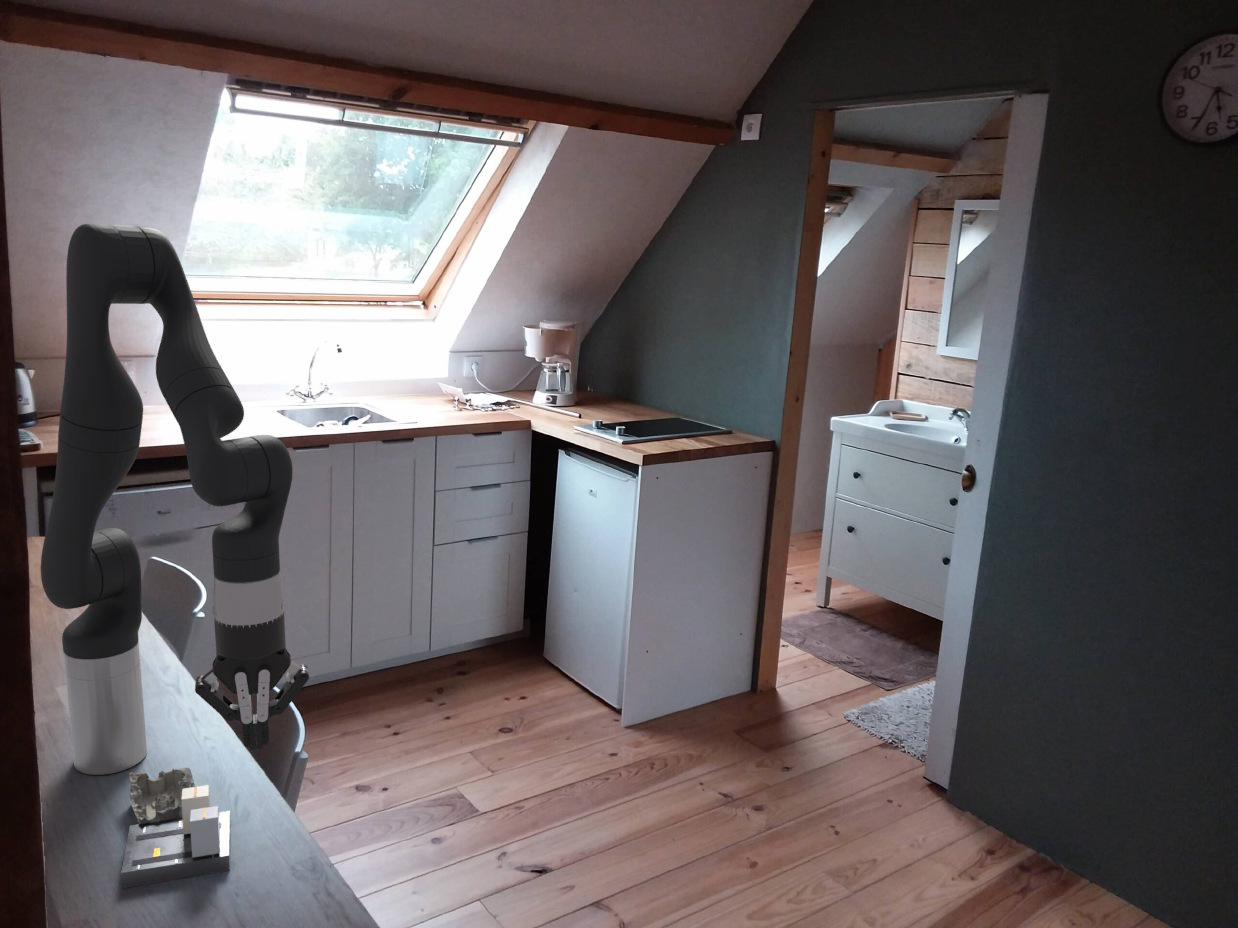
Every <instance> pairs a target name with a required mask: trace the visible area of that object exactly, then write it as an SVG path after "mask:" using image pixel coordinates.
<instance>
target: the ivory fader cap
mask: <svg viewBox="0 0 1238 928" xmlns="http://www.w3.org/2000/svg"><path fill="white" fill-rule="evenodd" d="M210 797H211V796H210V784H206V785H201V786H200V785H198V786H195V787H191V788H184V789H182V799H181V800H182V816H183V831H184V834H190V833H191V830H190V815H191V810H194V809H201V808H207V807H211V799H210Z"/></svg>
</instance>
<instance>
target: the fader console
mask: <svg viewBox="0 0 1238 928" xmlns="http://www.w3.org/2000/svg"><path fill="white" fill-rule="evenodd" d="M231 825H232V822H231V810H224V811H219V829H220V853H217V854H211V855H205V856H199V857H193V858H192V846H191V833H190V834H184V831H183V818H177V819H170V820H164V821H157V822H150V823H144V824H139V823H138V824H137V823H136V824H131V825H129V829H128V834H127V840H126V845H125V850H124V856H123V861H122V862H123V863H122V867H121V872H120V876H121V887H122V888H123V889H126V888H131V887H139V886H143V885H149V884H150V885H151V884H156V883H163V882H166V881H173V880H174V881H175V880H179V879H185V878H191V877H197V876H202V875H208V874H214V873H221V872H225V871H227V872H228V871H230V868H231V833H232V832H231V828H232V827H231Z"/></svg>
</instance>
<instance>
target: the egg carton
mask: <svg viewBox="0 0 1238 928" xmlns="http://www.w3.org/2000/svg"><path fill="white" fill-rule="evenodd" d="M128 776H129V784H130V785H129V786H130V788H129V799H130V802H131V805H130V806H131V808H132V810H133V812H134V816H135V817H136V820H137V822H138V824H144V823H150V822H157V821H164V820H170V819H177V818H183V816H182V800H181V799H182V789H184V788H191V787H196V785H195V782H194V777H193V773H192V771H191V768H189V767H182V768H179V769H176V768H172V770H170V771H167V772H165V771H163V770H162V771H159V773H158V775H157V776H156V777H152V778H150V777H149V775H148V773H147V772H140V773H137V774H135V773H134V772H133V771H129V775H128Z"/></svg>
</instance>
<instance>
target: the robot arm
mask: <svg viewBox="0 0 1238 928" xmlns="http://www.w3.org/2000/svg"><path fill="white" fill-rule="evenodd" d="M169 239H170V238H168V237H167V236H166V235H165V234H164V233H163V232H162V231H160V230H159V229H156V228H151V227H146V226H139V225H124V224H112V223H111V224H110V223H109V224H107V223H83V224H80V225H79V226H78V227H77V228H75V229H74V231H73V232H72V235H71V237H70V240H69V244H68V248H67V255H66V269H65V270H66V272H65V273H66V277H65V278H66V280H65V281H66V289H65V290H66V349H65V351H66V354H65V362H64V363H65V365H64V366H65V367H64V377H63V378H64V379H63V386H62V395H61V402H60V408H59V409H60V410H59V423H58V432H57V434H58V435H57V455H56V456H57V457H56V469H55V477H54V484H53V485H54V487H53V495H52V503H51V506H50V511H49V516H48V519H47V520H48V521H47V524H46V530H45V531H46V532H45V534H44V535H45V536H44V540H43V544H42V545H43V546H42V549H41V550H42V551H41V556H40V578H41V583H42V584H41V585H42V587H43V588H42V589H43V590H44V594H45V596H46V597H47V598H48V600H49V602H51V604H53V606H55V607H57V608H59V609H63V610H72V609H77V608H81V607H82V608H83V607H85V606H87V607H86V609H84V611H83V612H82V613H81V614H80V615H78V617H76V618H75V619H74V620H72V621H71V622H70V623H69V624H68V625H67V626H65V628H64V630H63V631H62V635H61V637H62V638H61V641H62V651H63V652H62V653H63V662H64V663H63V665H64V672H65V681H66V682H65V683H66V693H67V704H68V716H69V725H70V735H71V747H72V757H73V765H74V766H73V767H74V768H75V769H76V771H78V772H80V773H83V774H86V775H90V776H93V775H94V776H95V775H96V776H99V775H100V776H101V775H110V774H115V773H119V772H123V771H125V770H127V769H130V768H132V767H134V766H136V765H138V764H139V763H140V762H142V761H143V760H144V759H145V757H146V756H147V754H148V753H147V751H148V746H147V736H146V735H147V734H146V718H145V707H144V695H143V692H144V691H143V683H142V679H143V678H142V669H141V667H142V665H141V659H140V658H141V656H140V645H139V644H140V643H139V641H140V640H139V632H140V631H139V630H140V629H141V628H140V627H141V625H142V620H143V618H142V617H143V611H142V606H143V603H142V569H141V568H142V566H141V559H140V555H139V551H138V548H137V546H136V543H135V542H134V540H133V539H132V538H131V536H130V535H129V533H127V532H126V531H124V530H122V529H120V528H116V527H107V528H102V529H99V530H95V529H96V525H97V523H98V521H99V518H100V515H101V514H102V511H103V509H104V507H105V506H106V504H107V503H108V501H109V500H110V499H111V497H112V496H113V495H114V493H115V491H116V490H117V488H118V487H120V484H122V482H123V480H124V479H125V478H126V476H127V475H128V473H129V471H130V470H131V468H132V467H133V464H134V463H135V461H136V458H137V456H138V453H139V449H140V445H141V444H140V443H141V436H142V426H143V417H144V416H143V415H144V402H143V400H142V397H141V395H140V392H139V390H138V388H137V386H136V385H135V383H134V381H133V379H132V378H131V377H130V375H129V373H128V372H127V369H125V366H124V365H123V364H122V362H121V361H120V359H119V357H118V355H117V353H116V351H115V349H114V347H113V344H112V341H111V336H110V327H109V320H110V319H109V315H110V308H111V305H113V304H115V305H116V304H120V305H121V304H122V305H125V304H126V305H127V304H129V305H132V304H133V305H135V304H137V305H145V304H150V305H151V306H152V308H153V309H154V310H155V311H156V312H157V313H158V314H157V315H158V316H159V318H161V321H162V325H163V328H162V333H161V338H160V343H159V346H158V350H157V354H156V359H155V375H156V377H155V378H156V380H157V384H158V387H159V390H160V393H161V394H162V397H163V398H164V401H165V402H166V404H167V405H168V408H169V409H170V411H171V413H172V415H173V417H174V419H175V420H176V422H177V424H178V426H179V429H180V432H181V437H182V440H183V444H184V448H185V453H186V458H187V466H188V473H189V478H190V483H191V486H192V489H193V491H194V492H195V494H196V495H197V496H198V497H199V498H200V499H201V500H203V501H204V502H205V503H207V504H209V505H211V506H212V507H213V506H214V507H226V506H233V505H236V504H240V503H245V504H244V506H243V509H242V510H241V511H240V512H239V513H238V514H236V515H235V516H233V517H231V518H229V519H226V520H225V521H224V522H222V523H220V524H219V525H217V526H216V527H215V528H214V530H213V533H212V537H211V545H212V546H211V547H212V563H213V566H212V567H213V588H212V613H213V614H212V615H213V618H214V619H213V622H214V638H215V640H214V641H215V654H216V656H215V658H214V660H213V662H212V668H211V670H209V671H208V672H207V673H206V674H204V675H198V676H197V677H196V678H195V683H194V684H195V685H194V691H195V693H196V694H197V695H198V696H199V697H200V698H201V699H203V701H205V702H206V703H207V704H208V705H209V706H210V707H211V708H212V709H213V710H215V711H216V712H217V714H219V715H220V716H221V717H222V718H224V719H225V720H226V721H228V722H232V721H234V720H235V721H239V722H240V723H241V725H242V743H243V746H244V747H245V748H249V752H255V751H261V750H264V745H268V744H269V742H270V729H269V720H270V718H271V717H273V716H277V715H278V716H280V715H282V714H284V712H285V710H286V709H287V708H288V707H289V705H290V704H291V703H292V702H293V700H294V699H295V697H296V696H297V695H298V693H299V692H300V691H301V690H302V688H303V687H304V686H305V684H307V682H308V681H309V679H310V676H309V675H310V674H309V667H308V666H307V665H306V664H304V663H302V664H298V663H296V662H294V661H293V660H292V659H291V654H290V652H289V651H288V650H287V646H286V625H285V622H286V621H285V606H286V604H285V599H284V598H285V597H284V584H283V581H282V575H281V564H280V562H281V561H280V540H279V539H280V533H281V528H282V525H283V521H284V520H283V519H284V516H285V511H286V507H287V503H288V500H289V499H288V498H289V496H290V491H291V487H292V482H293V462H292V457H291V454H290V452H289V450H288V448H287V447H286V445H285V444H284V443H283V442H282V441H281V440H280V439H279V438H277V437H276V436H273V435H270V434H260V435H252V436H246V437H245V436H244V437H238V438H232V439H226V440H223V439H222V438H224V437H226V436H229V435H230V434H231V433H232V432H234V431H235V430H237V429H238V427H239V426H240V425H241V424H242V422H243V421H244V417H245V409H244V406H243V403H242V401H241V399H240V398H239V395H238V394H237V392H236V390H235V389H234V386H233V385H232V383H231V382H230V380H229V378H228V377H227V375H226V373H225V371H224V370H223V368H222V366H221V364H220V362H219V360H218V359H217V357H216V355H215V353H214V351H213V348H212V346H211V345H210V344H211V343H209V340H208V337H207V334H206V331H205V329H204V326H203V322H202V319H201V317H200V314H199V311H198V308H197V303H196V302H195V301H196V300H195V299H194V295H193V293H192V289H191V288H190V285H189V282H188V279H187V276H186V274H185V271H184V268H183V265H182V263H181V260H180V257H179V256H178V253H177V252H176V249H175V248H174V246H173V244H172V242H171V241H170V240H169ZM285 673H286V682H285V683H284V684H283V686H282V687H281V688H280V690H279V691H278V692H277V694H276V695H275V696H274V697H273V698H272V700H270V691H272V690H274V688H276V686H277V685H278V683H279V682H280V680H281V679H282V678H283V676H284V675H285ZM218 680H219V681H220V682H221V683H222V684H223V685H224V686H225V687H226V688H227V689H228V690H229V691H230V692H231V693H233V694H234V695H237V700H238V704H236V703H235V702H234V701H233V700H232V699H231V698H230V697H229V696H227V695H226V694H225V693H224V692H223V691H222V690H221V689H220V688H219V685H220V684H219V681H218ZM253 694H256V714H254V709H253V704H252V697H251V695H253Z"/></svg>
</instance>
